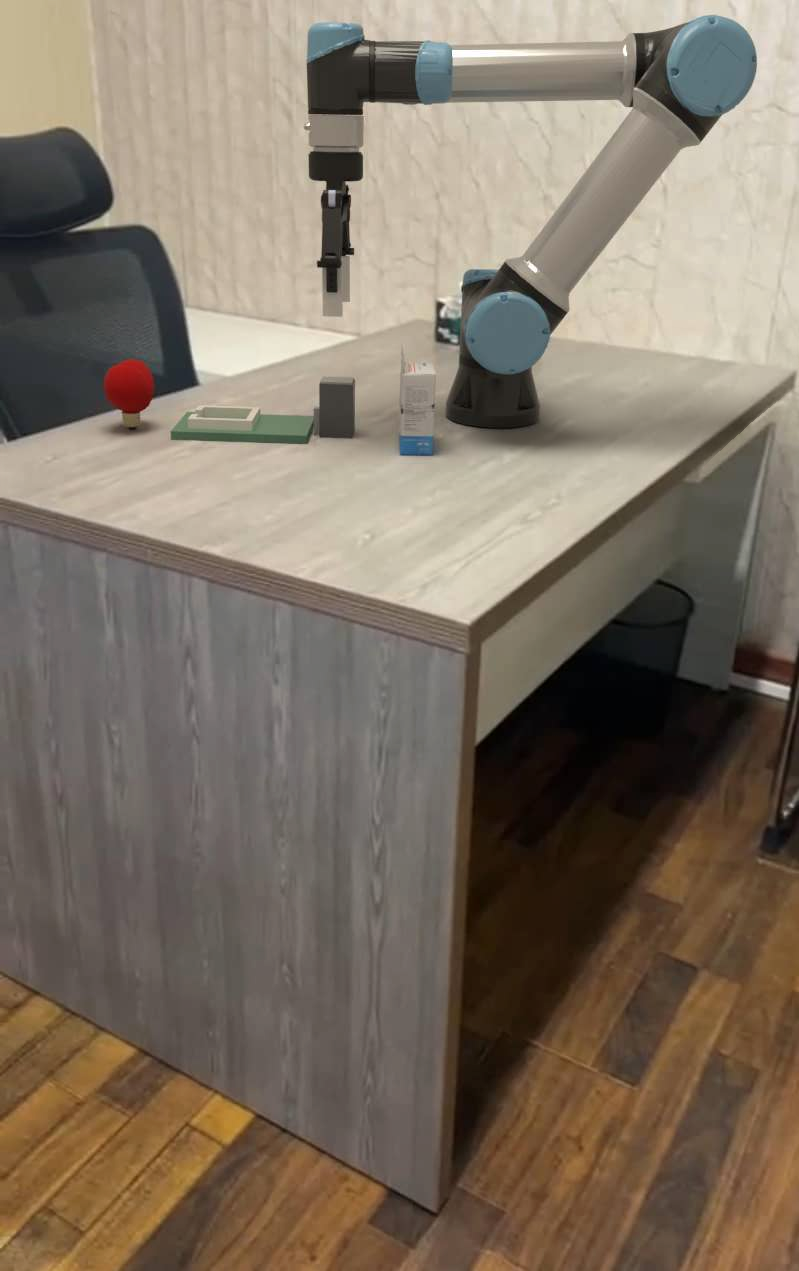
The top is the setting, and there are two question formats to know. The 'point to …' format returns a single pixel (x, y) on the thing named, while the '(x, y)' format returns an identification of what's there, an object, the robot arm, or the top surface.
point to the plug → (335, 408)
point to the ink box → (416, 407)
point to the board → (242, 426)
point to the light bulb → (129, 390)
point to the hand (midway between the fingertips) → (336, 308)
